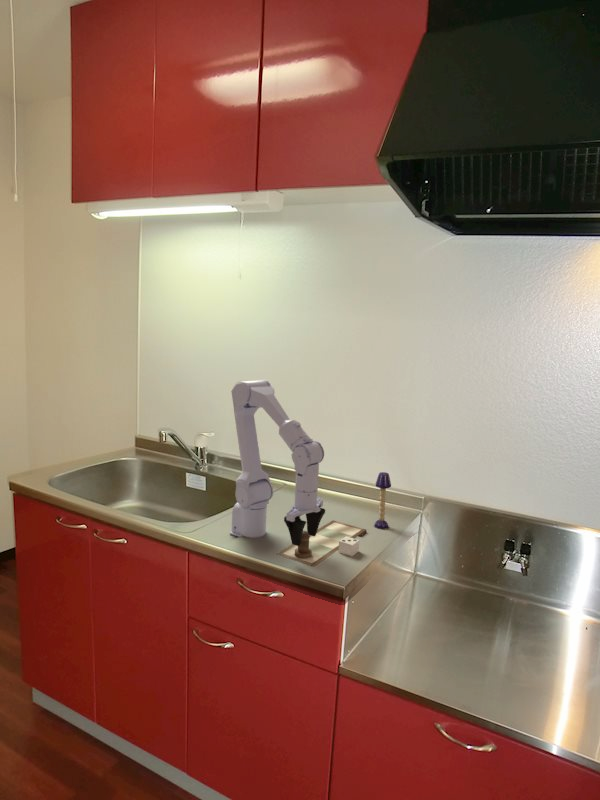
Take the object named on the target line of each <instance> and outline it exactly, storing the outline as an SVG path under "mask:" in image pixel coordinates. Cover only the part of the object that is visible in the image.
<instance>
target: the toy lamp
mask: <svg viewBox="0 0 600 800" xmlns="http://www.w3.org/2000/svg"><path fill="white" fill-rule="evenodd" d="M375 487H377V488H379V490H380V492H379V508H378V509H379V511H378V515H379V517H378V519H377V520H376V521H375V522H374V525H373V526H374V528H376V527H377V529H379V528H381V529H380V530H385V528H386V529H388V528H389V524H388V522H387V521H386V520H385V516H386V512H385V510H386V506H385V505H386V502H385V501H386V490H387V489H389V488H391V487H392V483H391V478H390V474H389V473H388V472H385V471H384V472H383V471H381V472H379V473H378V476H377V478H376V481H375Z"/></svg>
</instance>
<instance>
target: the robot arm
mask: <svg viewBox="0 0 600 800" xmlns="http://www.w3.org/2000/svg"><path fill="white" fill-rule="evenodd" d="M231 400H232V404H233V414H234V415H233V416H234V419H235V420H234V421H235V429H236V434H237V442H238V450H239V455H240V457H239V458H240V464H241V470H242V472H241V474H240V475H239V476H238V477H237V478H236V480H235V485H236V486H235V493H234V495H235V499H236V503H235V504H234V505H233V507H232V511H231V531H230V532H229V534H230V535H232V536H235V537H238V538H240V537H242V536H244V537H247V538H252V539H253V538H261V537H264V535H266V534H267V533H266V532H267V531H266V530H267V509H268V508H267V507H268V504H269V503H270V500H271V499H272V498H273V496H274V487H273V485H272V483H271V480H270V476H269V474H268V473H267V472H266V471H264V470H263V468H262V462H261V455H260V450H259V442H258V433H257V429H256V428H257V427H256V421H255V414H256V412H257V411H258V410H259V409H260V408H262V409H263V410H264V412H266V413H267V415H268V416H269V417H270V418H271V420H273V421H274V423H275V424H276V425H277V427H279V429H278V434H279V436H280V438H282V440H283V442H284V443H285V445H286V446H287V447H288V448H289V450H290V451H291V452H292V453H291V459H292V462H293V464H294V471H295V483H294V484H295V487H294V504H293V505H292V507H291V508H290V509H289V511H287V512H286V515H285V516H284V518H283V521H284V523H285V525H286V527H287V529H288V532H289V536H290V537H289V538H290V541H291V545H292V544H293V545H296V546H299V545H300V544H301V539H302V532H303V531H304V528H305V526H306V527H307V528H306V531H307V532H308V533H309V535H311V536H316V533H317V530H318V529H319V526H320V523H321V521H322V519H323V516H324V515H325V514H326V509H325V508H322V507H323V506H324V498H319V497H318V492H319V491H318V489H319V487H318V486H319V470H320V463H321V462H323V461H324V457H325V451H324V447H323V446H322V444H321V443H320V442H319V441H317V440H314V439H313V438H311V437H310V436H309V435H308V434H307V432H306V431H305V430H304V429H303V427H302V424H301V422H300V421H298V420H295V419H290V418H289V416H288V414H287V413H286V411H285V410H284V408H283V406H282V405H281V403H280V402H279V400H278V399H277V397H276V395H275V388H274V387H273V386H272V385H271V383H270V382H269V381H268V380H266V379H259V380H247V381H246V380H245V381H244V380H240V381H237V382H236V383H235V384H234V386H233V388H232V389H231ZM304 515H305V518H306V520H303V519H302V518H301V516H304Z"/></svg>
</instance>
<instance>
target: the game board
mask: <svg viewBox="0 0 600 800" xmlns="http://www.w3.org/2000/svg"><path fill="white" fill-rule="evenodd" d="M364 533H365V534H367V529H365V528H363V527H358V526H355V525H351V524H347V523H344V522H341V521H337V520H334V519H333V520H331V521H329V522H328V523H326V524H324V525H323V526H320V527H318V530H317V533H316V536H311V535H310V539H309V549H310V550H311V551H312V555H311V557H309V558H305V559H303V558H298V557H296V556H295V549H297V548H298V546H296V545H293V544H292V543H291V545H289V546H287V547H285V548H283V550H280V551H279V552H277V553H276V555H277V556H280V557H283V558H286V559H290V560H293V561H295V562H299V563H301V564H304V565H307V566H310V567H313V568H315V567H316V566H317V565H318V564H320V563H322V562H323V561H325V560H326V559H327V558H329V557H330V556H332V555H333V554H334V553H335V552H337V551H339V541H340V540H341V539H343V538H344V537H346V536H347V537H350V538H354V539H357V537H359V538H361V536H363V535H364Z"/></svg>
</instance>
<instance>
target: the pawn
mask: <svg viewBox="0 0 600 800" xmlns="http://www.w3.org/2000/svg"><path fill="white" fill-rule="evenodd" d="M309 539H310V535H309V533H308V532H307V530H303V532H302V539H301V544H300V545H299V546H298V548H297V549H295V556H296V557H298V558H303V559H305V558H309V557H311V555H312V551H311V550H310V549H309Z"/></svg>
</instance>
